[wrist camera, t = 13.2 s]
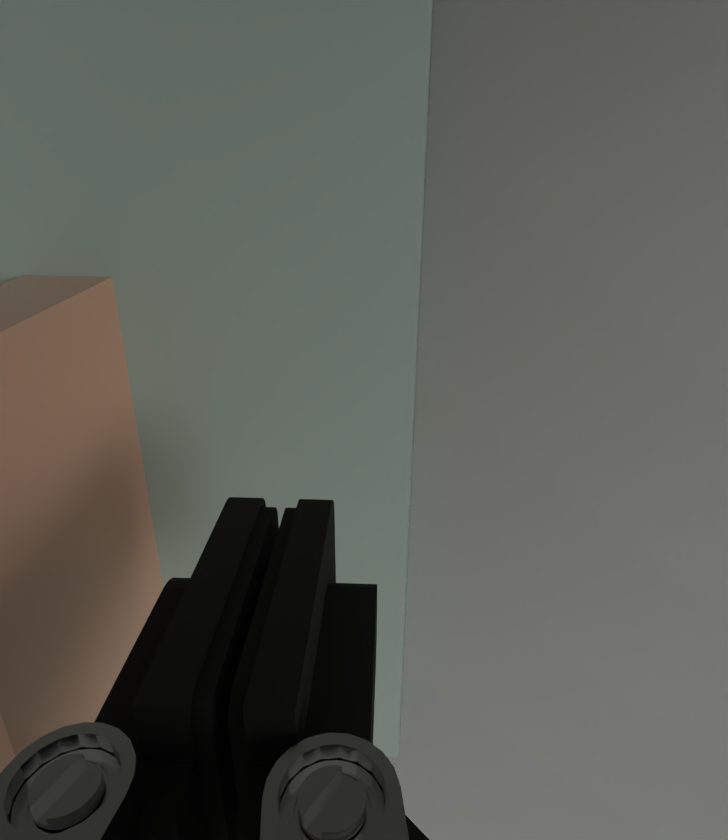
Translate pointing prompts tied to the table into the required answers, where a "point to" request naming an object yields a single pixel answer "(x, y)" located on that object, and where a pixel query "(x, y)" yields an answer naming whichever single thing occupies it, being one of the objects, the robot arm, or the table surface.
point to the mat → (240, 251)
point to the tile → (67, 507)
